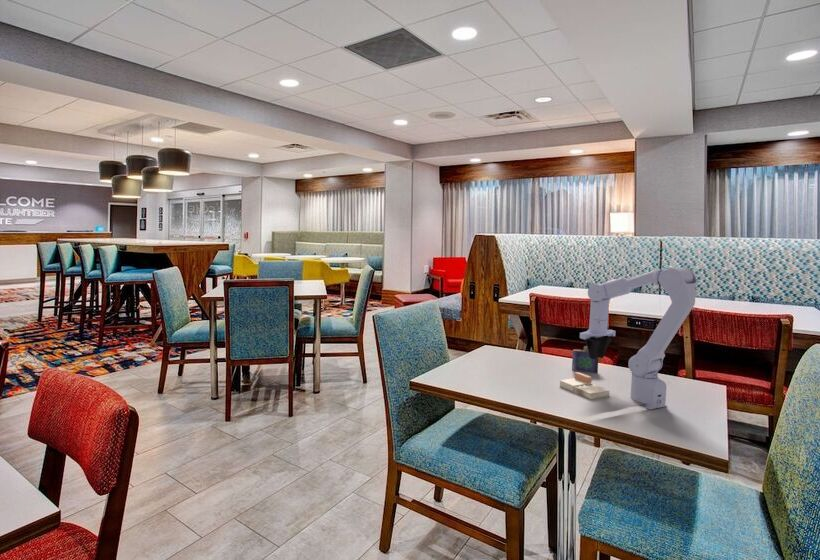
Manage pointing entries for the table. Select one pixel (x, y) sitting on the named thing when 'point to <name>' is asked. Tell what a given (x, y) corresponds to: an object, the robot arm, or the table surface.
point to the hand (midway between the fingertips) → (596, 358)
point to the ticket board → (591, 391)
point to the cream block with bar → (576, 381)
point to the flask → (584, 361)
